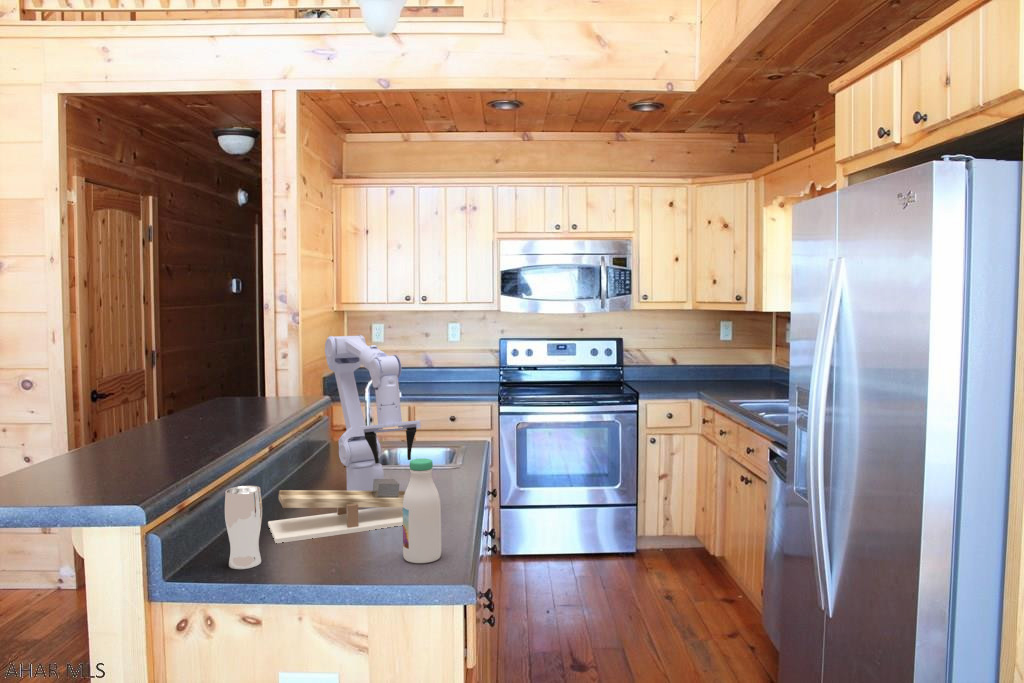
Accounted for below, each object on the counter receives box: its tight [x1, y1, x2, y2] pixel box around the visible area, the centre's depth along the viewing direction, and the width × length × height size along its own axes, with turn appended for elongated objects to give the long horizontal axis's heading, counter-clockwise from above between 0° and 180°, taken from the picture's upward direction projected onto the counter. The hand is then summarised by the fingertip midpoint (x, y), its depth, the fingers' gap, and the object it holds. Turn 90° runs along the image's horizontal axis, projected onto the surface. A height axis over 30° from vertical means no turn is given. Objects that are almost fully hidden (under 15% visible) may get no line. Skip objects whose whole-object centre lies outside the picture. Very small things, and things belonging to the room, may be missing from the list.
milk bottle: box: [402, 458, 442, 564], centre depth 147 cm, size 8×8×20 cm
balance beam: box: [278, 489, 406, 509], centre depth 170 cm, size 30×9×3 cm, turn 115°
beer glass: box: [224, 485, 263, 570], centre depth 144 cm, size 7×7×15 cm
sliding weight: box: [372, 478, 401, 498], centre depth 174 cm, size 5×5×4 cm
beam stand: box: [267, 504, 403, 544], centre depth 170 cm, size 34×14×6 cm, turn 115°
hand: (393, 461), depth 175 cm, fingers open, 7 cm apart
